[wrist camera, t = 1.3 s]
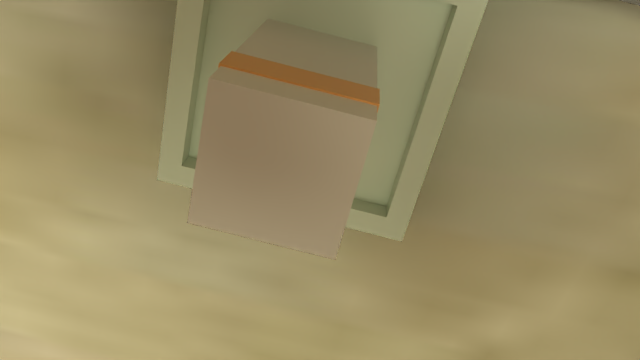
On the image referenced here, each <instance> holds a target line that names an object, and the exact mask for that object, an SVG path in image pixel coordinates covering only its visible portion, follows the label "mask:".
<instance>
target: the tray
mask: <svg viewBox="0 0 640 360" xmlns="http://www.w3.org/2000/svg"><path fill="white" fill-rule="evenodd" d="M487 3H488V0H177V9H176V17H175V26H174V35H173V43H172V52H171V61H170V70H169V78H168V87H167V96H166V104H165V113H164V122H163V131H162V139H161V148H160V157H159V165H158V174H157V180H159V181H163V182H167V183H171V184H175V185H178V186H182V187H186V188H190V189H192V187H193V181H194V174H195V167H196V160H197V154H198V147H199V140H200V133H201V127H202V120H203V113H204V106H205V100H206V93H207V86H208V79H209V77H210V76H211V75H212V74H213V73H214V72H215V71H216V70H217V69H218V66H219V63H220V62H221V61H222V60H223V59H224V58H225V57H226V56H227V55H228V54H229V53H230V52H231V51H234V52H235V51H236V50H237V49H238V48H239V47H240V46H241V45H242V44H243V43H244V42H245V41H246V40H247V39H248V38H249V37H250V36H251V35H252V34H253V33H254V32H255V31H256V30H257V29H258V28H259V27H260V26H261V25H262V24H263V23H264V22H265V21H266V20H267V19H272V20H275V21H279V22H283V23H287V24H291V25H295V26H299V27H303V28H306V29H310V30H314V31H318V32H322V33H326V34H330V35H334V36H337V37H341V38H345V39H349V40H353V41H357V42H361V43H364V44H368V45H372V46H376V47H377V88H378V89H380V105H379V109H378V112H377V123H376V126H375V129H374V133H373V136H372V139H371V143H370V146H369V149H368V153H367V156H366V160H365V163H364V166H363V170H362V173H361V176H360V180H359V183H358V186H357V190H356V193H355V196H354V200H353V203H352V206H351V210H350V213H349V216H348V220H347V223H346V226H345V228H349V229H353V230H357V231H361V232H365V233H369V234H373V235H377V236H381V237H385V238H389V239H393V240H397V241H401V242H402V240H403V238H404V235H405V232H406V229H407V226H408V224H409V221H410V218H411V215H412V212H413V210H414V207H415V204H416V201H417V198H418V196H419V193H420V190H421V187H422V184H423V182H424V179H425V176H426V173H427V171H428V168H429V165H430V162H431V159H432V157H433V154H434V151H435V148H436V145H437V143H438V140H439V137H440V134H441V131H442V129H443V126H444V123H445V120H446V117H447V115H448V112H449V109H450V106H451V103H452V101H453V98H454V95H455V92H456V90H457V87H458V84H459V81H460V78H461V76H462V73H463V70H464V67H465V64H466V62H467V59H468V56H469V53H470V50H471V48H472V45H473V42H474V39H475V36H476V34H477V31H478V28H479V25H480V22H481V20H482V17H483V14H484V11H485V8H486V6H487Z"/></svg>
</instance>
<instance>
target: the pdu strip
mask: <svg viewBox="0 0 640 360" xmlns="http://www.w3.org/2000/svg"><path fill="white" fill-rule="evenodd" d="M620 1H624V2H628V3H632V4H635V5H639V6H640V0H620Z"/></svg>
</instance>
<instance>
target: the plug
mask: <svg viewBox="0 0 640 360" xmlns="http://www.w3.org/2000/svg"><path fill="white" fill-rule="evenodd" d="M379 105H380V89H378V88H377V47H376V46H372V45H368V44H364V43H361V42H357V41H353V40H349V39H345V38H341V37H337V36H334V35H330V34H326V33H322V32H318V31H314V30H310V29H306V28H303V27H299V26H295V25H291V24H287V23H283V22H279V21H275V20H272V19H267V20H266V21H265V22H264V23H263V24H262V25H261V26H260V27H259V28H258V29H257V30H256V31H255V32H254V33H253V34H252V35H251V36H250V37H249V38H248V39H247V40H246V41H245V42H244V43H243V44H242V45H241V46H240V47H239V48H238V49H237V50H236V51H235V52H234V51H231V52H230V53H229V54H228V55H227V56H226V57H225V58H224V59H223V60H222V61H221V62H220V63H219V66H218V69H217V70H216V71H215V72H214V73H213V74H212V75H211V76H210V77H209V79H208V86H207V93H206V100H205V106H204V113H203V120H202V127H201V133H200V140H199V147H198V154H197V160H196V167H195V174H194V181H193V187H192V194H191V201H190V208H189V214H188V221H187V223H189V224H193V225H197V226H201V227H205V228H209V229H213V230H217V231H221V232H225V233H229V234H233V235H237V236H241V237H245V238H249V239H253V240H257V241H261V242H265V243H269V244H273V245H277V246H281V247H285V248H289V249H293V250H297V251H301V252H305V253H309V254H313V255H317V256H321V257H325V258H329V259H333V260H336V257H337V253H338V250H339V246H340V243H341V240H342V236H343V233H344V230H345V226H346V223H347V220H348V216H349V213H350V210H351V206H352V203H353V200H354V196H355V193H356V190H357V186H358V183H359V180H360V176H361V173H362V170H363V166H364V163H365V160H366V156H367V153H368V149H369V146H370V143H371V139H372V136H373V133H374V129H375V126H376V123H377V112H378V109H379Z"/></svg>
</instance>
